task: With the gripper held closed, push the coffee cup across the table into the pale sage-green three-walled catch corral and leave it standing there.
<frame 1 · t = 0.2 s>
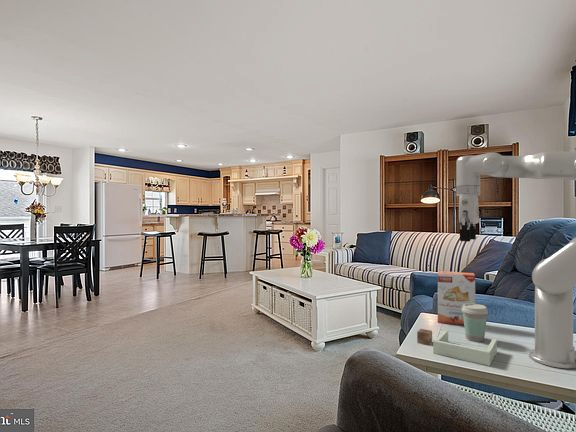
hand: (468, 240, 125), 36 cm above the table, tool pointing down, fingers open, 9 cm apart
cracker box: (455, 323, 148), on the table
walnut block: (424, 342, 126), on the table
catch corral: (465, 352, 117), on the table
coffee cup: (474, 339, 129), on the table
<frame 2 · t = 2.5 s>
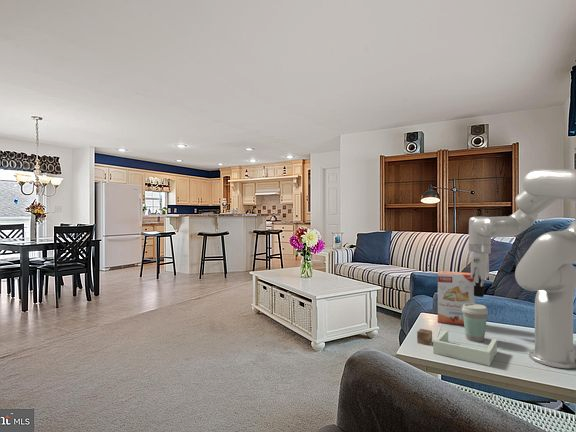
hand: (478, 296, 137), 14 cm above the table, tool pointing down, fingers closed
nothing on the table moved.
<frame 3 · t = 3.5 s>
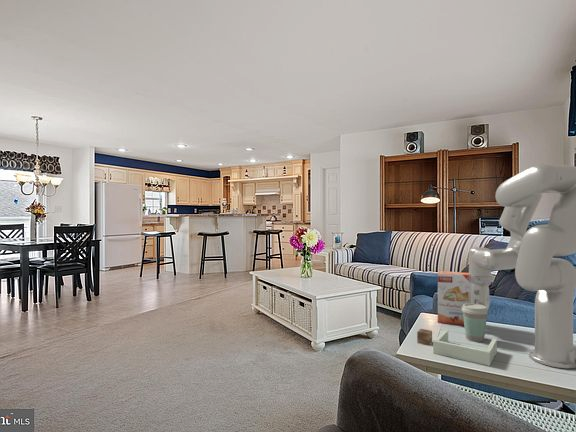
hand: (479, 327, 137), 2 cm above the table, tool pointing down, fingers closed
nothing on the table moved.
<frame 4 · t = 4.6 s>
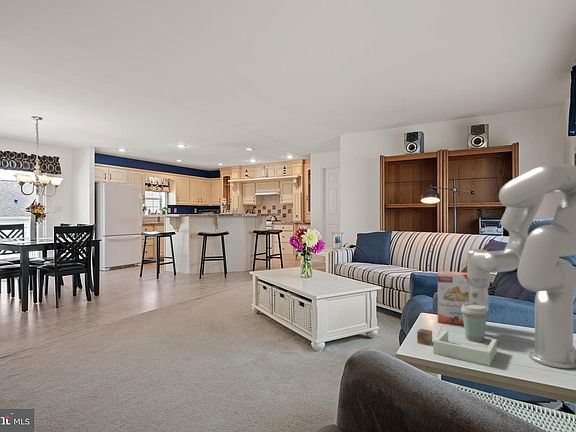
hand: (478, 330, 134), 1 cm above the table, tool pointing down, fingers closed
coffee cup: (474, 339, 129), on the table, touching gripper
everything else where it was.
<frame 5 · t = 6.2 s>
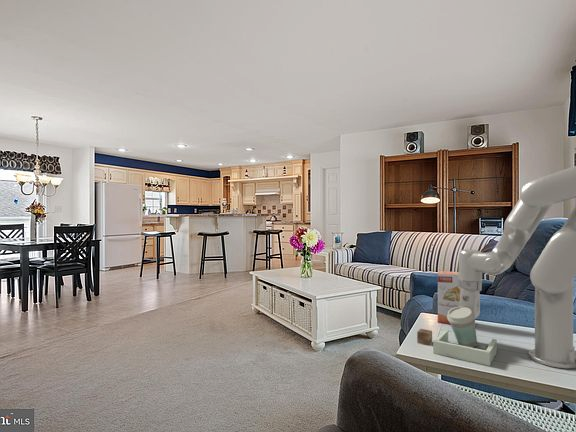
hand: (467, 335, 127), 2 cm above the table, tool pointing down, fingers closed
coffee cup: (467, 343, 122), point 1 cm above the table, touching gripper
everything else where it was.
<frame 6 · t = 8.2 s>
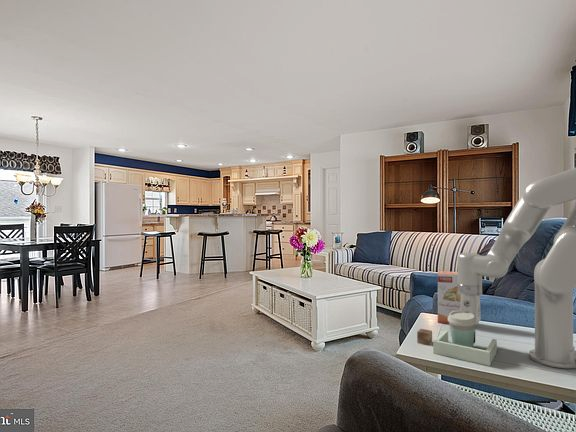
hand: (469, 342, 123), 1 cm above the table, tool pointing down, fingers closed
coffee cup: (462, 350, 118), on the table, touching gripper
everything else where it was.
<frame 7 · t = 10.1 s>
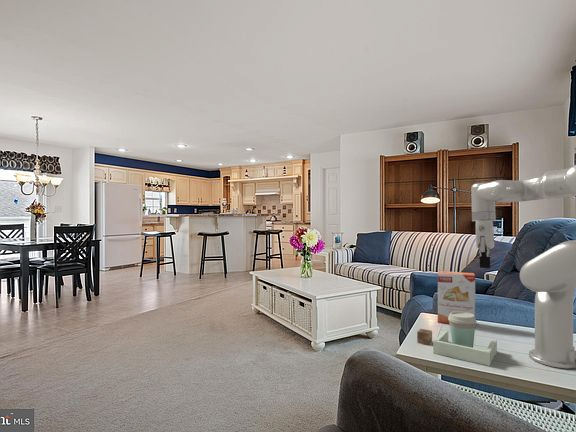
hand: (485, 267, 129), 26 cm above the table, tool pointing down, fingers closed
coffee cup: (462, 351, 118), on the table
everything else where it was.
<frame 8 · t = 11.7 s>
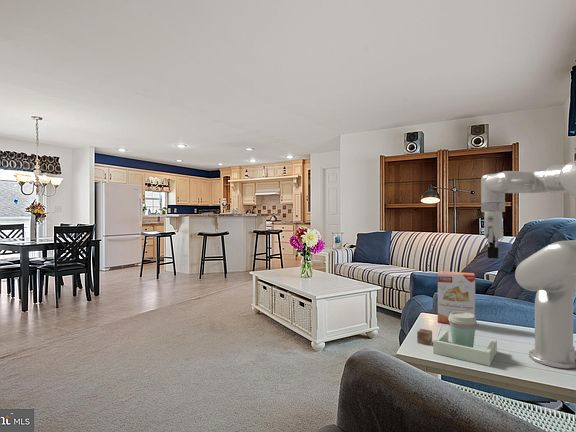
hand: (493, 257, 130), 29 cm above the table, tool pointing down, fingers closed
nothing on the table moved.
at the end: coffee cup inside the target area (1.6 cm from its centre), on the table; coffee cup tilted 1°; coffee cup moved 14.3 cm from its start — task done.
